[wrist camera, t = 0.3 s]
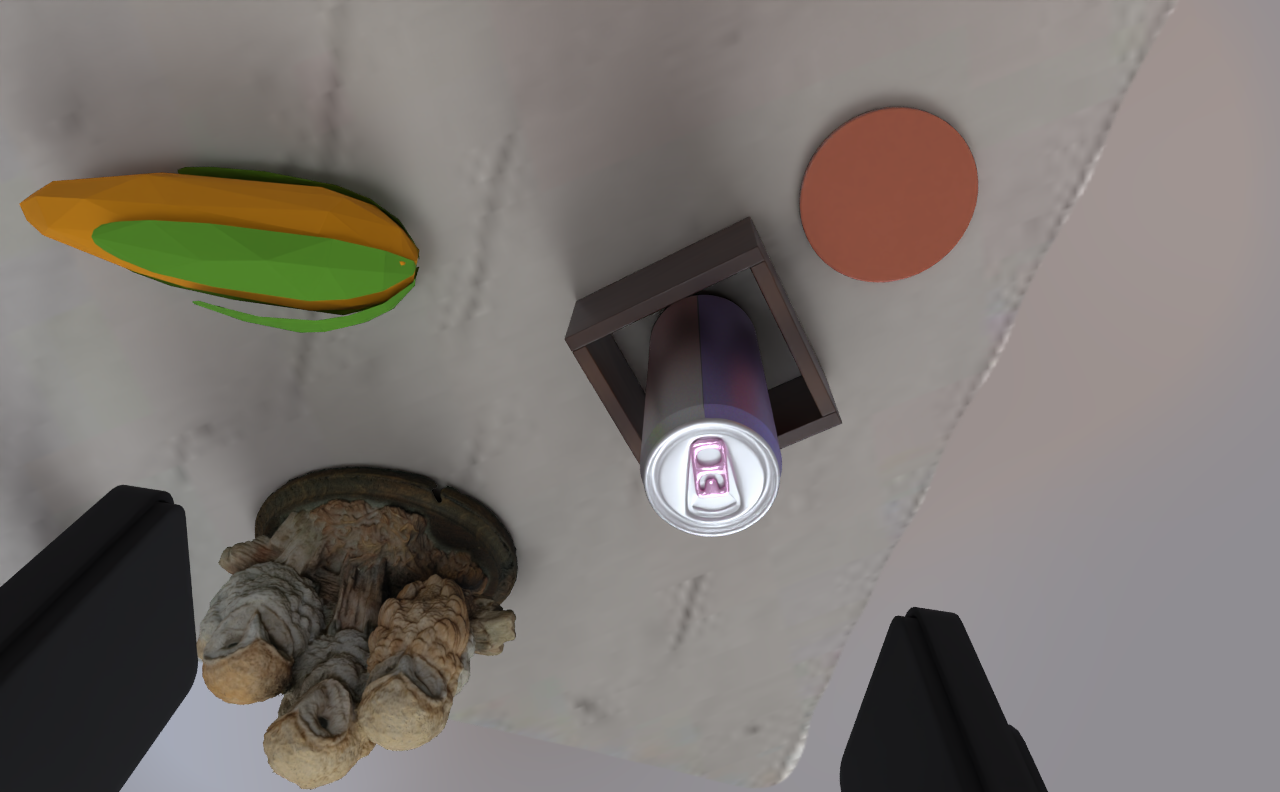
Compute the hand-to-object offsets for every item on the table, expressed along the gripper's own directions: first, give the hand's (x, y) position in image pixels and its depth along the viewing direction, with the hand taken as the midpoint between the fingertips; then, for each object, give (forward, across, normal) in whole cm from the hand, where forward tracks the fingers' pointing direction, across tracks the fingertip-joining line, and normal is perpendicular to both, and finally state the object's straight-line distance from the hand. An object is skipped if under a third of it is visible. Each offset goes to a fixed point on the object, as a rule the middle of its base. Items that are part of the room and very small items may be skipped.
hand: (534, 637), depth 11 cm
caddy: (+37, -5, +10) cm, 38 cm away
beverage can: (+37, -5, +10) cm, 38 cm away
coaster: (+36, -13, 0) cm, 39 cm away
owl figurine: (+37, +12, +27) cm, 47 cm away
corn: (+37, +20, +7) cm, 43 cm away
